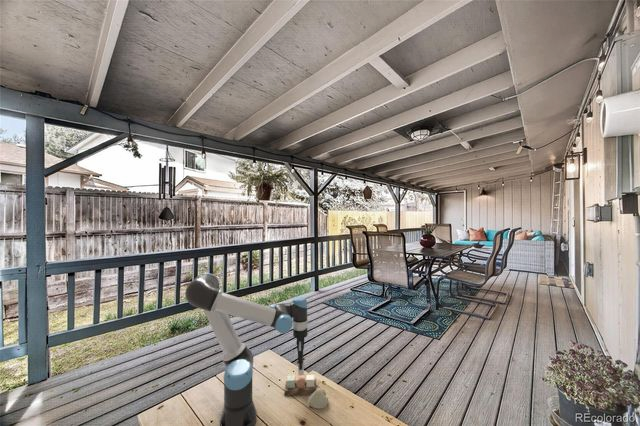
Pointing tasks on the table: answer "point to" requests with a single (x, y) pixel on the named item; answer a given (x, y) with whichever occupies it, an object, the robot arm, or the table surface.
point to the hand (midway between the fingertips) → (301, 374)
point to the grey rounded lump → (318, 399)
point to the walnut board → (299, 389)
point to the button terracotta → (300, 381)
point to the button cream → (310, 380)
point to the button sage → (291, 381)
